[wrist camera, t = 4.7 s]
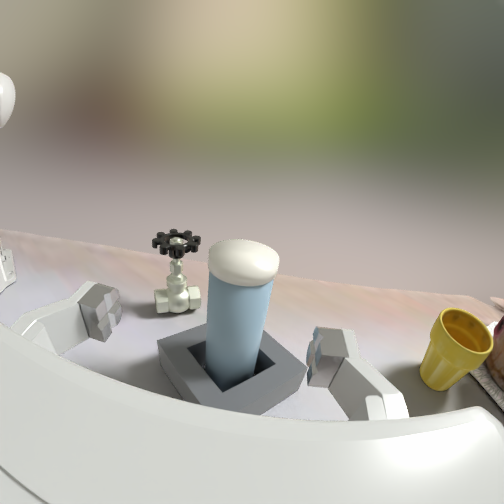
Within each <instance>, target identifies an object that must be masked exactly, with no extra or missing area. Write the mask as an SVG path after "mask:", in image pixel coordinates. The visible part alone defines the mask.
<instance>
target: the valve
mask: <svg viewBox="0 0 504 504" xmlns="http://www.w3.org/2000/svg"><path fill="white" fill-rule="evenodd" d="M170 239H171V240H170ZM182 239H185V240H187V241H188V242H187V243H185V244H183V240H182ZM200 242H201V237H200V236H193V237H192V232H191V231H185V232H184V233H178V232H177V230H176V229H171V230H170V233H169V234H165V233H163V232H158V233H157V238H155V239H153V240H152V247H153V248H157V245H160V254H162V255H166V254H168V250H169V256H170V257H171V258H173V260H172V261H171V262H170V272H172V273H171V275H169V276H168V277H167V279H166V280H167V286H168V288H167V289H157V290H154V296H155V304H156V310H157V313H165V312H168V311H170V312H173V313H181V312H184V311H186V310H187V309H188V308H189V309H198V308H200V307H201V296H200V291H199V288H198V286H187V278H186V276H185V275H183V274H182V271H183V262H182V261H181V260H180V258H182V257H183V256H184V254H185V253H188V252H190V251H191V252H197V251H198V245H200ZM186 286H187V287H186Z"/></svg>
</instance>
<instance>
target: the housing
mask: <svg viewBox="0 0 504 504" xmlns="http://www.w3.org/2000/svg"><path fill="white" fill-rule="evenodd" d="M206 327H207V323H206V324H203V325H200V326H197V327H195V328H192V329H189V330H186V331H183V332H180V333H178V334H175V335H172V336H169V337H166V338H163V339H160V340H157V344H158V351H159V358H160V364H161V367H162V368H163V370H164V371H165V373H166V374H167V376H168V377H169V379H170V381H171V382H172V384H173V385H174V387H175V388H176V389H177V391H178V392H179V394H180V395H181V397H182V398H183V400H184V401H186V402H190V403H194V404H199V405H203V406H208V407H213V408H218V409H223V410H228V411H234V412H240V413H246V414H253V415H261V414H263V413H264V412H266V411H267V410H269V409H271V408H272V407H274V406H275V405H277V404H278V403H280V402H281V401H283V400H284V399H286V398H287V397H289V396H290V395H292V394H293V393H295V392H296V391H298V389H299V387H300V384H301V382H302V380H303V378H304V375H305V373H306V371H307V368H308V367H306V366H305V365H304V364H303V363H302V362H300V361H299V360H298V359H297V358H296V357H294V356H293V355H292V354H291V353H290V352H289V351H287V350H286V349H285V348H284V347H283V346H282V345H280V344H279V343H278V342H277V341H276V340H275V339H273V338H272V337H271V336H270V335H269V334H268V333H267V332H265V331H264V330H263V333H262V337H261V342H260V347H259V351H258V355H257V360H256V364H255V369H254V373H255V374H256V376H254V377H252V378H250V379H248V380H246V381H244V382H242V383H240V384H239V385H237V386H235V387H233V388H231V389H229V390H227V391H225V392H222V391H221V390H220V389H219V388H218V387H217V385H216V384H215V383H214V382H213V381H212V379H211V378H210V377H209V376H208V374H207V373H206V372H205V371H204V370H203V368H202V366H204V365H205V356H206Z"/></svg>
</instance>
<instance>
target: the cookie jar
mask: <svg viewBox="0 0 504 504" xmlns="http://www.w3.org/2000/svg"><path fill="white" fill-rule="evenodd" d="M487 328H488V330H489V331H490V333H491V335H492V338H493V349H492V351H491V352H490V354H489V355H488V357H487V358H486V359H485V361H484V362H483V363H482V364H481V365H480V366H479V367H478V368H477V369H475V370H472V371H470V373H471V374H472V375H473V376H474V377H475V378H476V379H477V380H478V381H479V383H480V384H481V385H482V386H483V387H484V389H485V390H486V391H487V392H488V393H489V394H490V395H491V397H492V398H493V399H494V400H495V401H496V403H497V404H498V405H499V406H500V407H501V409H502V410H503V411H504V316H503V317H502V319H501V320H500V321H499V323H498V322H496V321H495V322H492V323H491V324H490V325H488V326H487Z"/></svg>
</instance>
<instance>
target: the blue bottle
mask: <svg viewBox="0 0 504 504" xmlns="http://www.w3.org/2000/svg"><path fill="white" fill-rule="evenodd" d="M278 265H279V256H278V254H277V253H276V252H275V251H274V250H273V249H271V248H270V247H268V246H266V245H264V244H261V243H258V242H254V241H249V240H242V239H231V240H224V241H220V242H217V243H216V244H214V245H213V246H211V248H210V249H209V259H208V268H209V287H208V305H207V327H206V356H205V372H206V373H207V374H208V376H209V377H210V378H211V379H212V381H213V382H214V383H215V384H216V385H217V387H218V388H219V389H220V390H221V391H222V392H225V391H227V390H229V389H231V388H233V387H235V386H237V385H239V384H240V383H242V382H244V381H246V380H248V379H250V378H252V377H253V373H254V369H255V364H256V360H257V355H258V351H259V347H260V342H261V337H262V333H263V328H264V324H265V319H266V314H267V310H268V305H269V300H270V295H271V290H272V285H273V281H274V278H275V277H276V275H277V270H278Z"/></svg>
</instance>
